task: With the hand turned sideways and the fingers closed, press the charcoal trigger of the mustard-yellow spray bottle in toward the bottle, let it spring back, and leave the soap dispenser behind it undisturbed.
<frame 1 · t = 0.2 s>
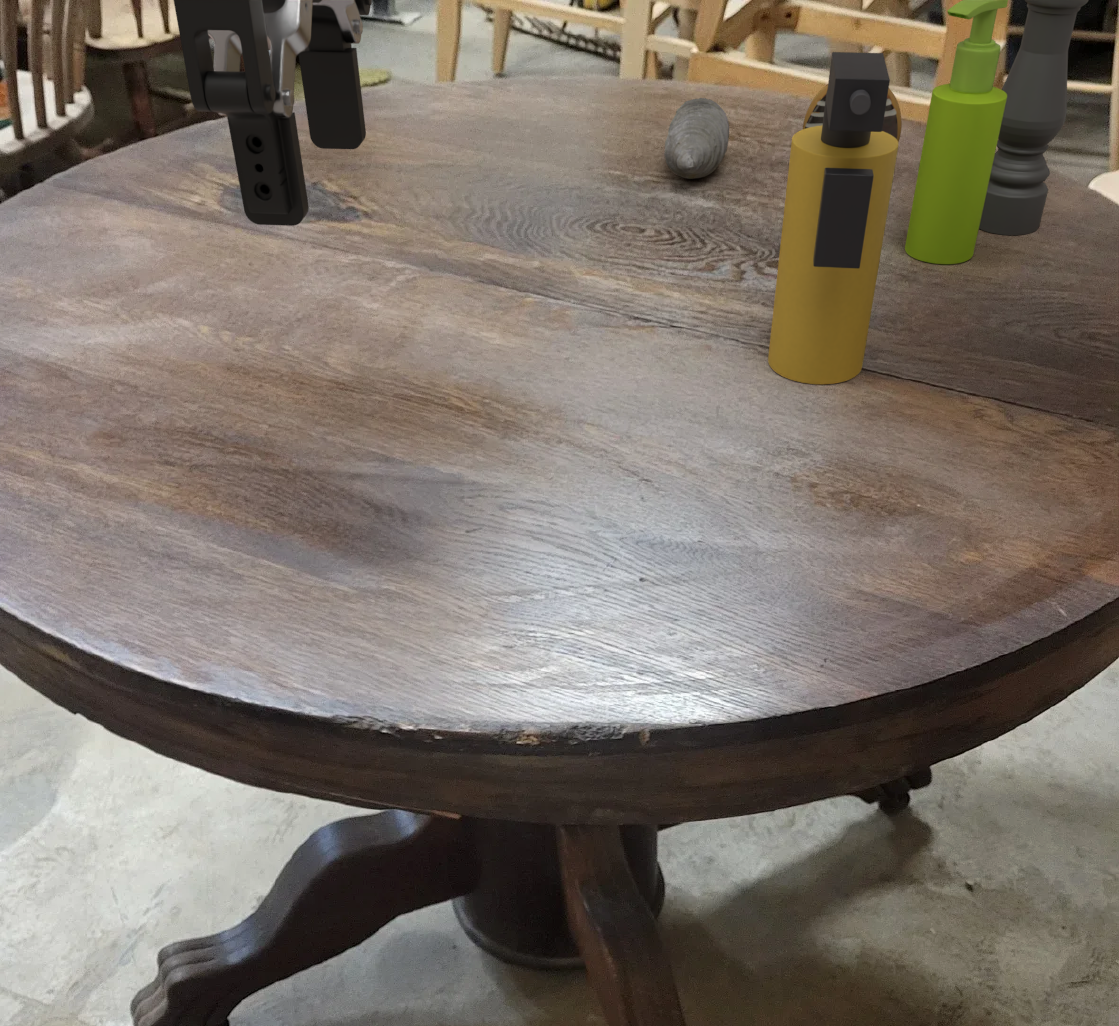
hand: (311, 181, 48), 26 cm above the table, tool pointing down, fingers open, 8 cm apart
candle holder: (1003, 224, 113), on the table
soap dispenser: (934, 255, 108), on the table
trigger: (842, 218, 79), point 13 cm above the table, slide at 0.1 cm
spray bottle: (814, 362, 92), on the table
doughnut: (844, 179, 123), on the table
seashell: (695, 173, 124), on the table
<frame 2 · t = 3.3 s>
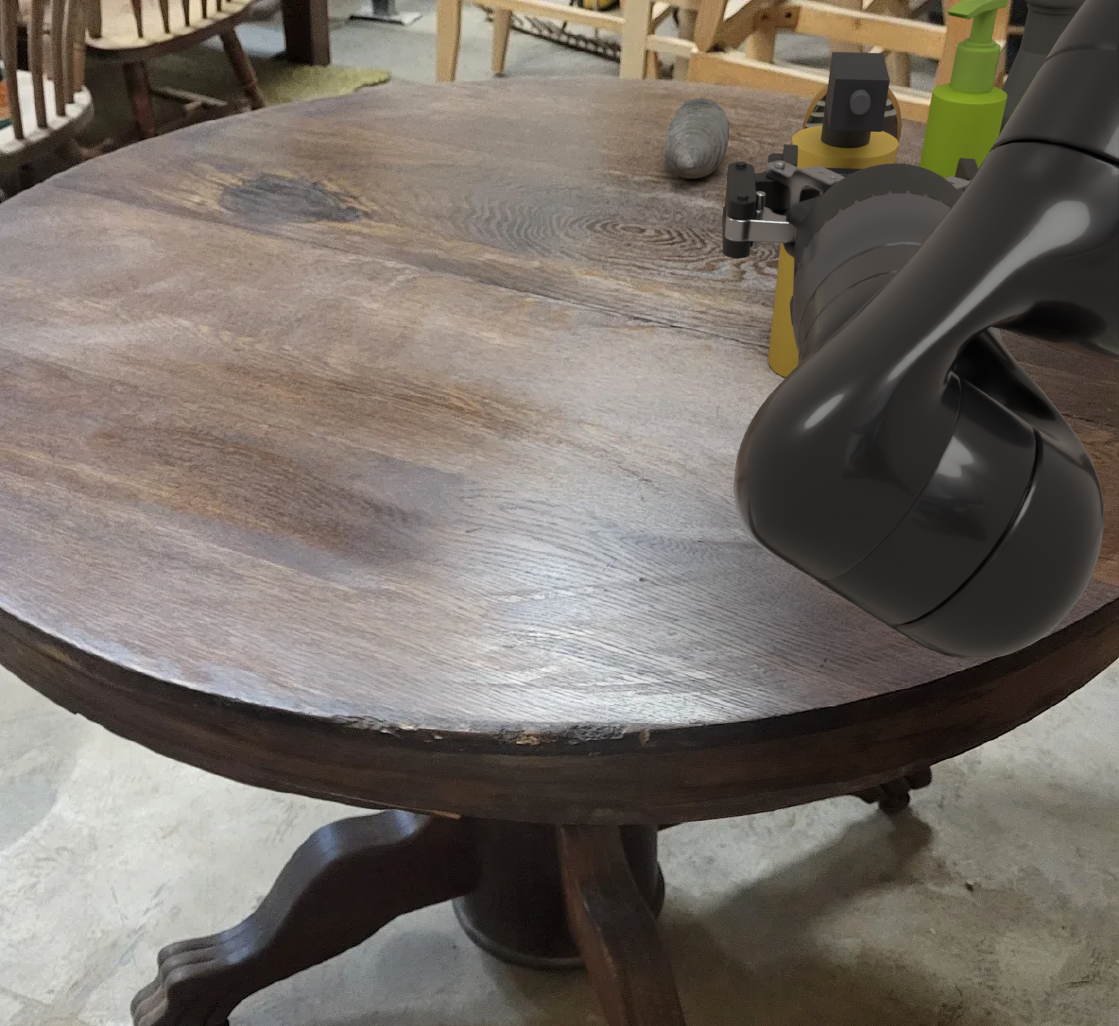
hand: (873, 172, 61), 21 cm above the table, tool horizontal, fingers open, 8 cm apart
nothing on the table moved.
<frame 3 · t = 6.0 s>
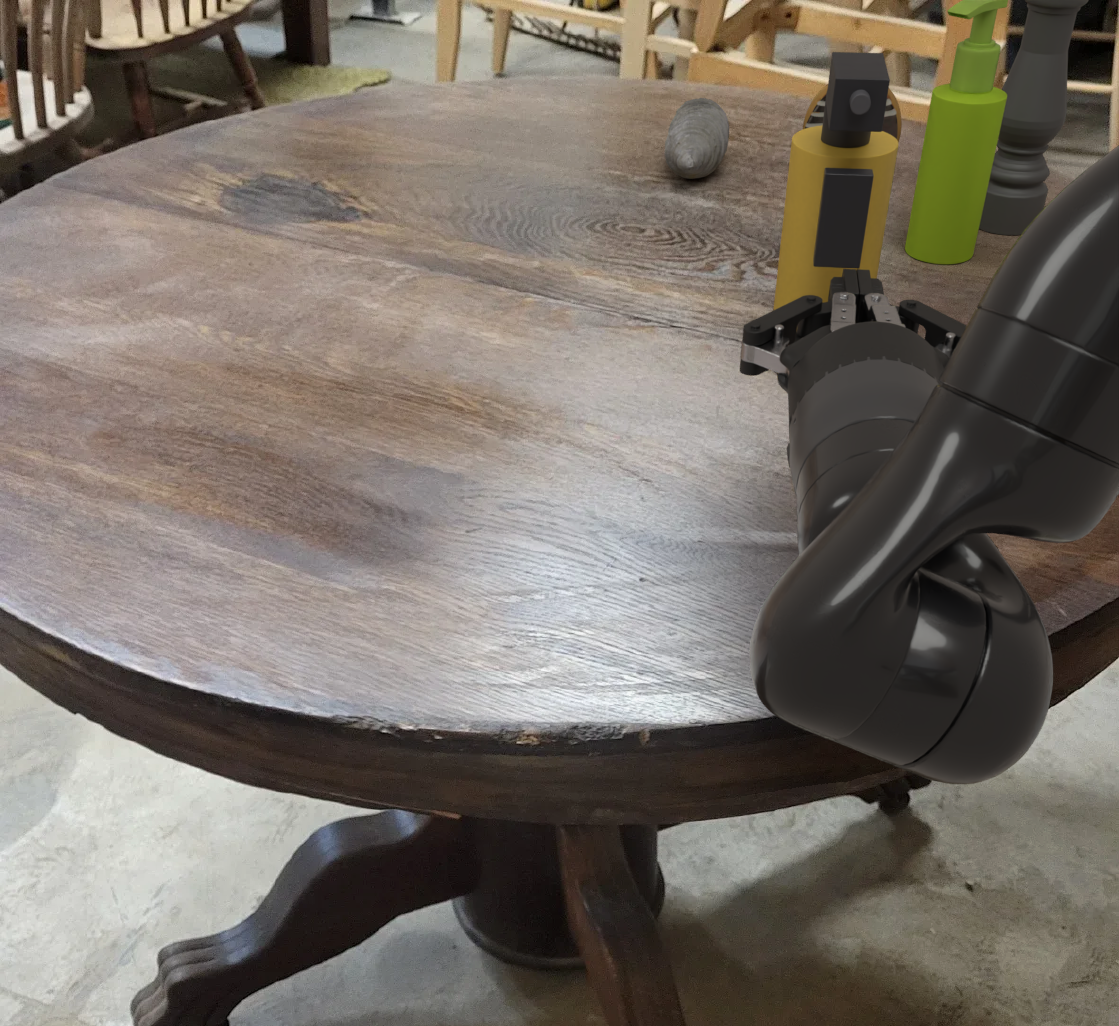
hand: (852, 285, 70), 14 cm above the table, tool horizontal, fingers closed
nothing on the table moved.
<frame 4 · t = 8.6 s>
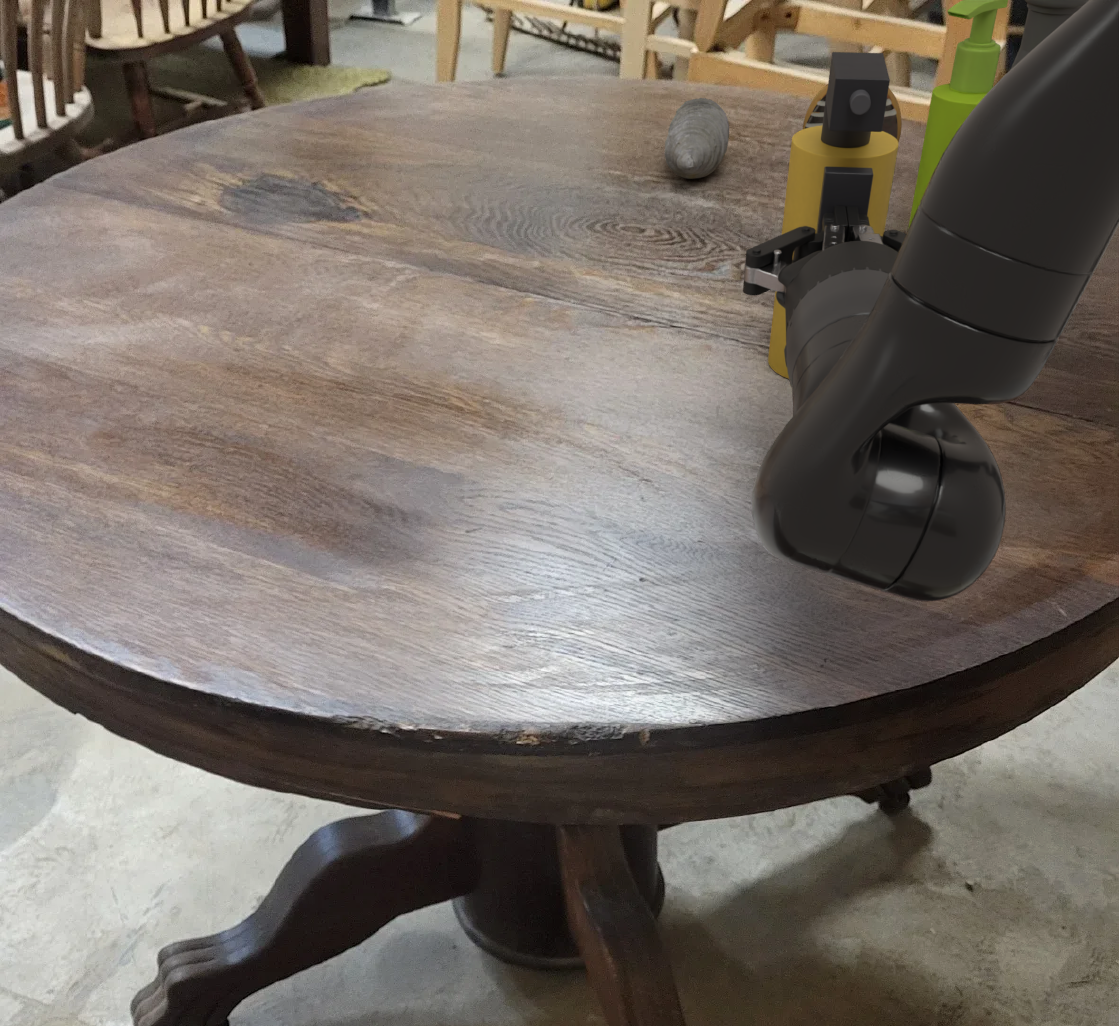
hand: (842, 221, 79), 13 cm above the table, tool horizontal, fingers closed
trigger: (842, 217, 79), point 13 cm above the table, slide at -0.2 cm, touching gripper
everything else where it was.
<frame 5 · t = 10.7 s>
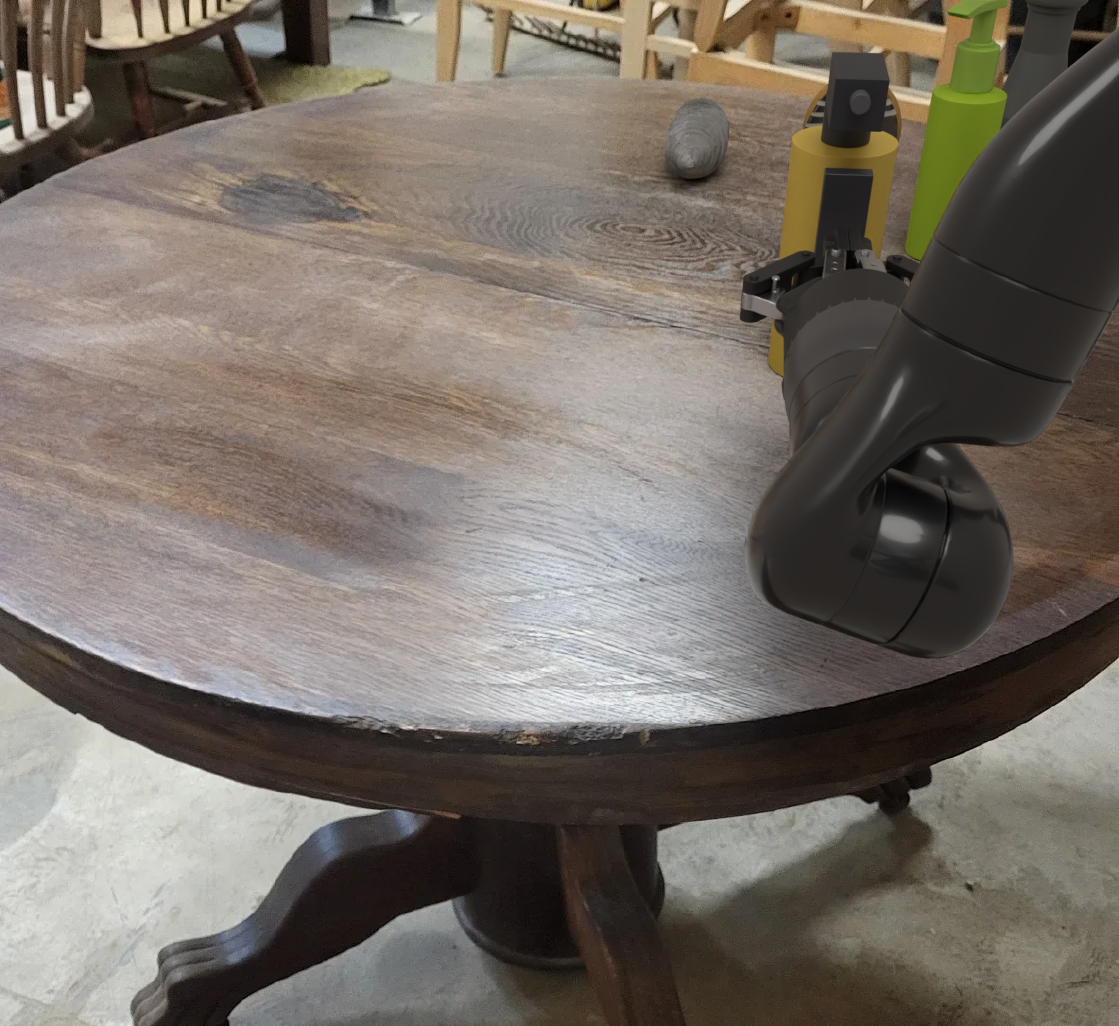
hand: (844, 244, 76), 13 cm above the table, tool horizontal, fingers closed
trigger: (842, 218, 79), point 13 cm above the table, slide at 0.1 cm
everything else where it was.
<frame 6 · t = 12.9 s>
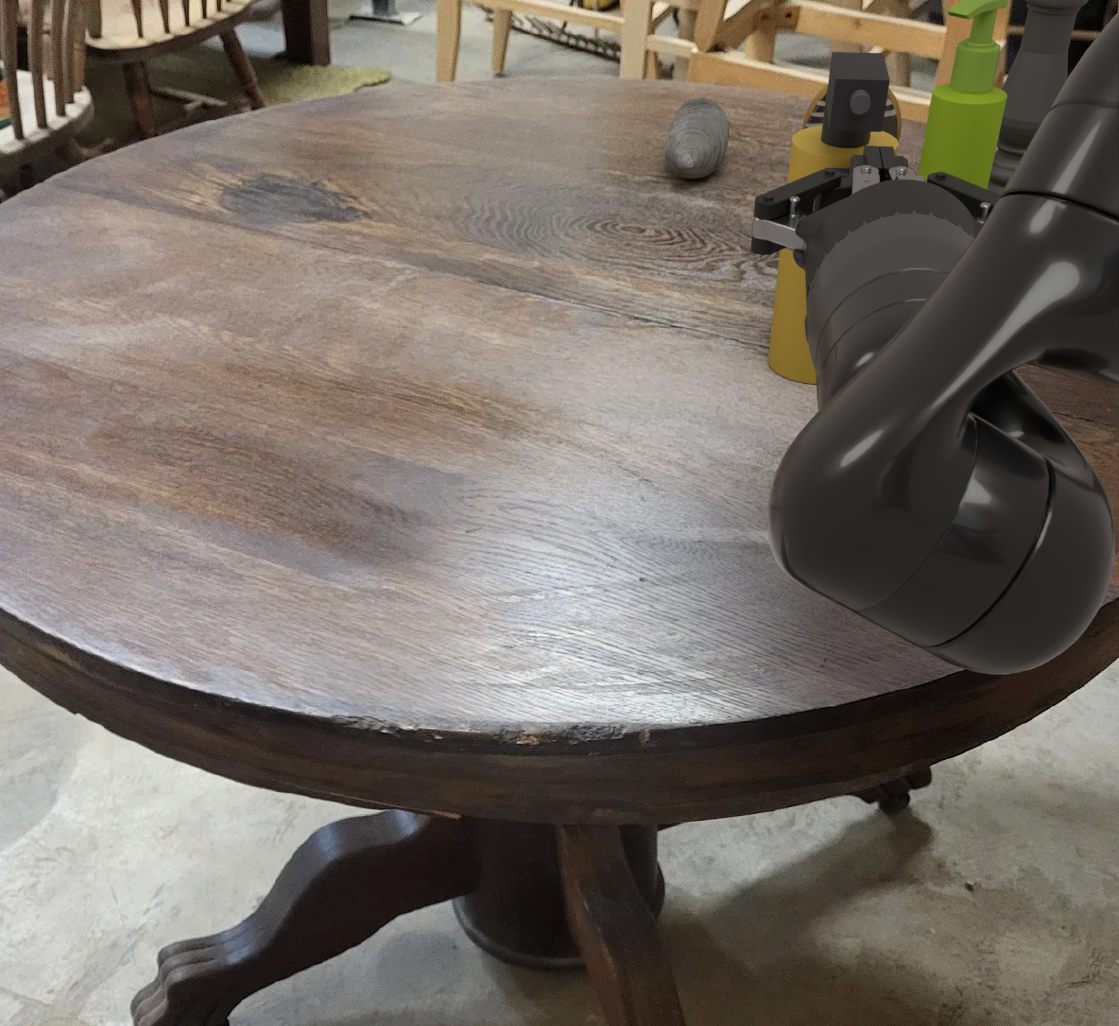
hand: (874, 165, 63), 21 cm above the table, tool horizontal, fingers closed
nothing on the table moved.
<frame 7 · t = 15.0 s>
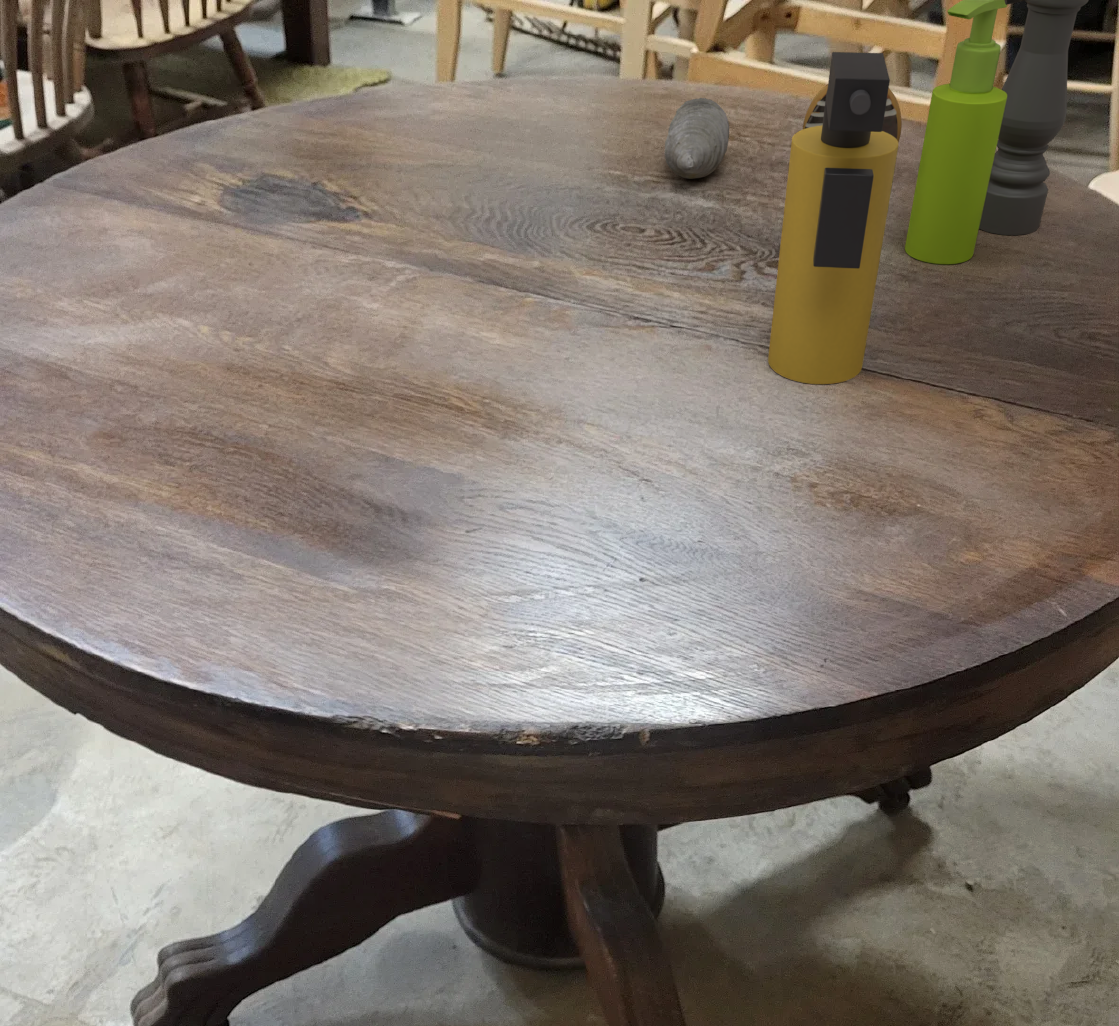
nothing on the table moved.
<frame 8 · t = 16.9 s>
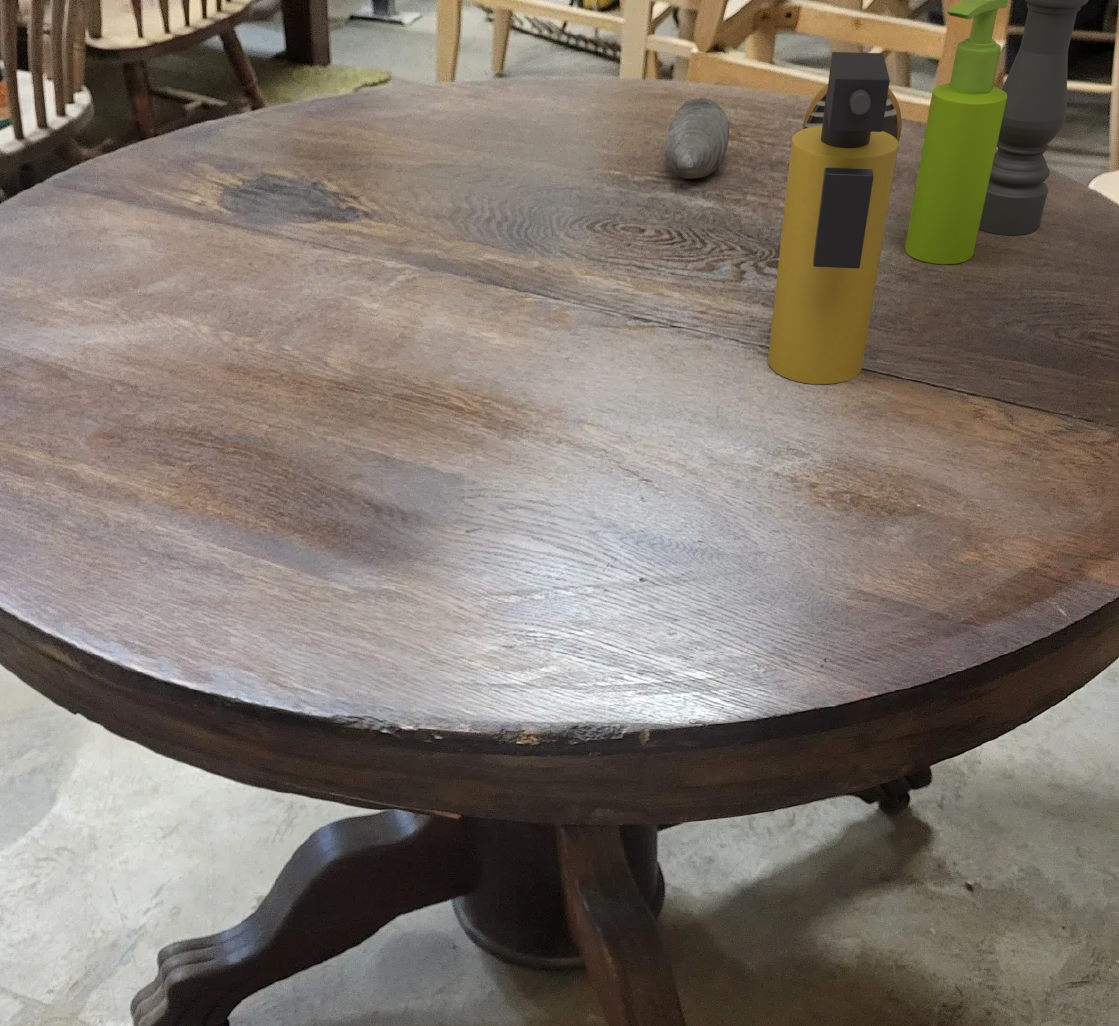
nothing on the table moved.
at the end: trigger pushed in 1.4 cm at the most during the clip, back to where it started at the end; trigger slide at 0.1 cm; soap dispenser moved 0.2 cm from its start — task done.
